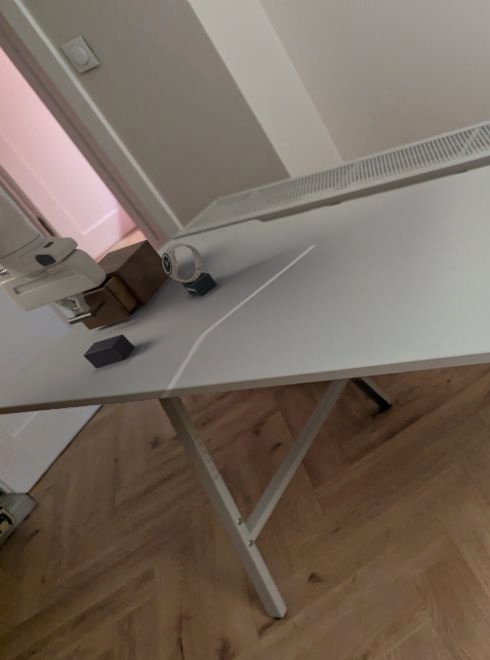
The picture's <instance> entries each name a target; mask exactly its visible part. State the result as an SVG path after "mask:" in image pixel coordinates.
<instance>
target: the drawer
mask: <svg viewBox="0 0 490 660" xmlns="http://www.w3.org/2000/svg"><path fill="white" fill-rule="evenodd" d="M82 293H83V296H84V300H85V303H86V304H87V305H88V306H89V307H90V310H89V311H88V312H86V313H83V314H80V315H77V316H75V315H73V317H69V318H68V319H67V322H68V324H69V325H72V326H73V325H76V324H79V323H82V324H83V325H84V326H85V327H86V328H87V329H88V330H89V331H91V330H94V329H98V328H100V327H104V326H107V325H110V324H113V323H117V322H119V321H123V320H126V319H129V317H131V314H130V313H129V312H131V311H132V310H133V309H132V308H133V307H134V306H135V305H136V303H137V302H138V301H139V300H138V299H137V298H136V297H135V295H134V294H133V293H132V292H131V291H130V290H129V288H128V287H127V286H126V285H125V284H124V283H123V281H122V280H121V279H120V278H119V277H118V275H117V274H115V275H112V276H109V277H106V279H105V280H104V281H103V282H102V283H101V284H100V285H99V286H98V287H95V288H92V289H89V290H87V291H84V292H82ZM67 300H69V301H71V302H73V303H74V304H76V302H75V300H73V301H72V300H71V299H70V298H68V299H67Z"/></svg>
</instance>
